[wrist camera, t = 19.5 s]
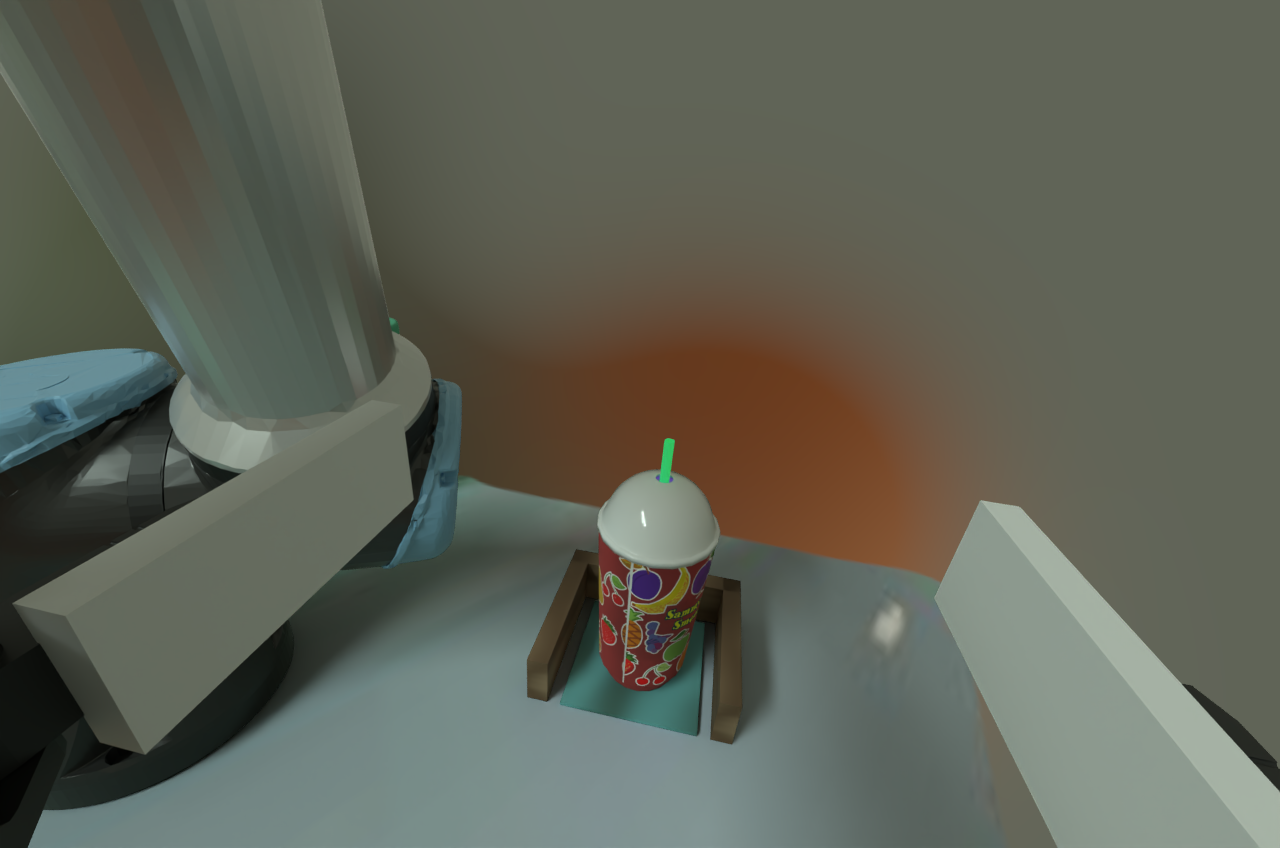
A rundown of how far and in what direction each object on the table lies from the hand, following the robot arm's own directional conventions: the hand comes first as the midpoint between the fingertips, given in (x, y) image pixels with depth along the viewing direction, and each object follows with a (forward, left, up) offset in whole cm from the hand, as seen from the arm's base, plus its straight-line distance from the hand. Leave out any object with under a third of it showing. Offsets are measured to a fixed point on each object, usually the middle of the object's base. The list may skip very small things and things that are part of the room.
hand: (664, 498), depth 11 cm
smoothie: (-3, +18, -28) cm, 33 cm away
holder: (-3, +18, -28) cm, 33 cm away
